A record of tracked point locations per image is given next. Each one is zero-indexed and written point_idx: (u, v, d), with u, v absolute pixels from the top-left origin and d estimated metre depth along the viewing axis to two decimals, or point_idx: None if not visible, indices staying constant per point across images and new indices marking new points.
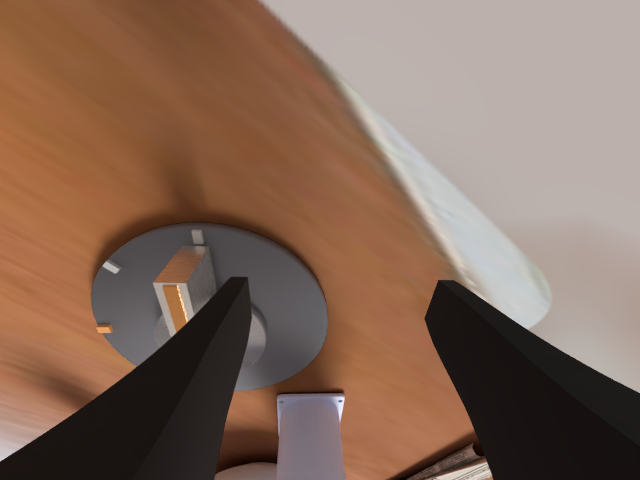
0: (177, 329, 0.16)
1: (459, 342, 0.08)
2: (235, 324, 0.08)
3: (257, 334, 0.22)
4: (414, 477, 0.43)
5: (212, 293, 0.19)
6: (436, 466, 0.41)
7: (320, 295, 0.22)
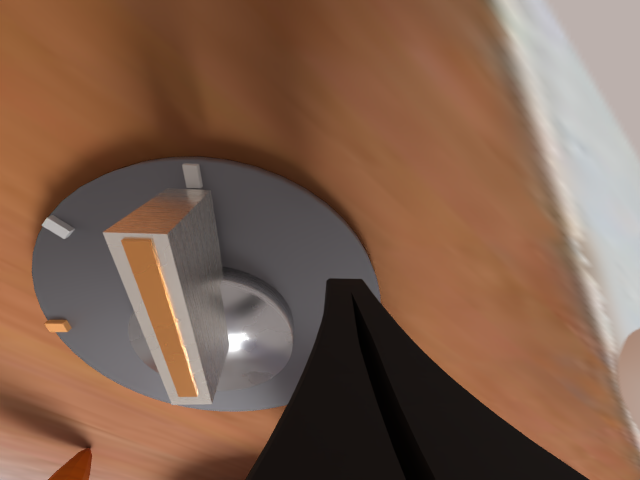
0: (155, 324, 0.09)
1: None
2: None
3: (281, 334, 0.15)
4: None
5: (216, 269, 0.12)
6: None
7: (374, 276, 0.15)
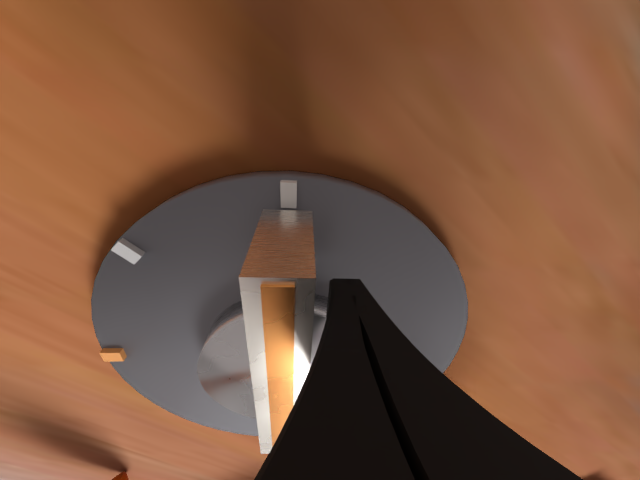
0: (270, 376, 0.08)
1: None
2: None
3: None
4: None
5: None
6: None
7: (465, 300, 0.13)
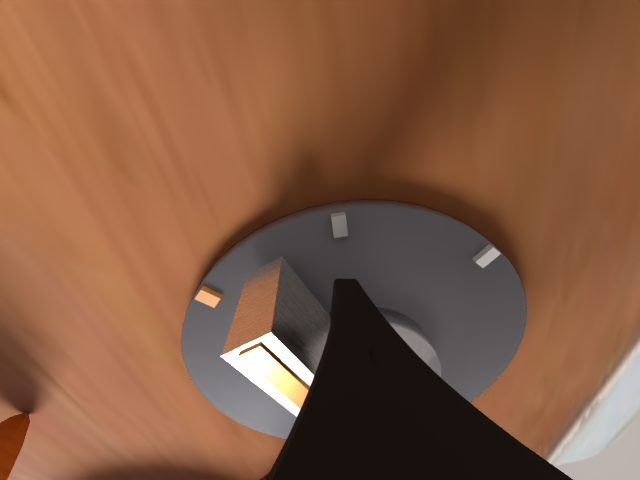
0: None
1: None
2: None
3: (420, 351, 0.13)
4: None
5: (325, 322, 0.11)
6: None
7: (496, 377, 0.17)
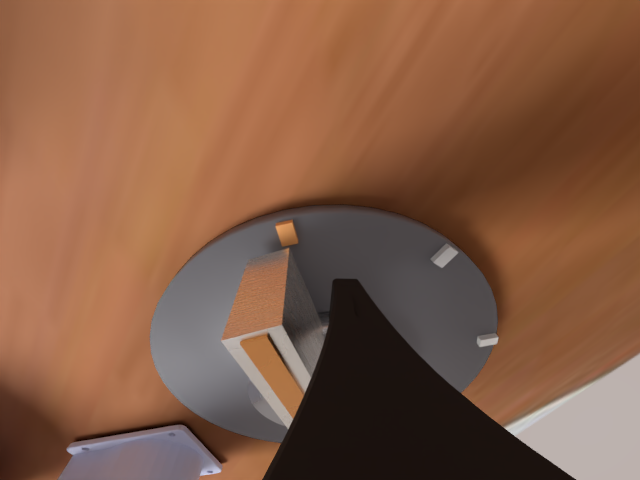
0: (288, 406, 0.09)
1: None
2: None
3: None
4: None
5: (316, 322, 0.11)
6: None
7: None
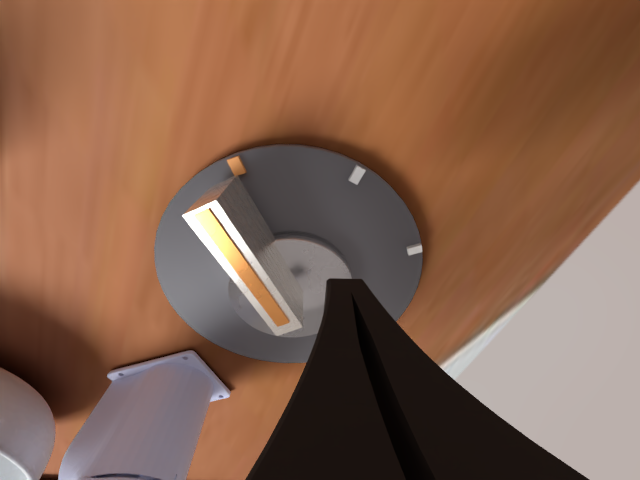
0: (237, 270, 0.13)
1: None
2: None
3: (337, 267, 0.18)
4: None
5: (265, 230, 0.16)
6: None
7: None
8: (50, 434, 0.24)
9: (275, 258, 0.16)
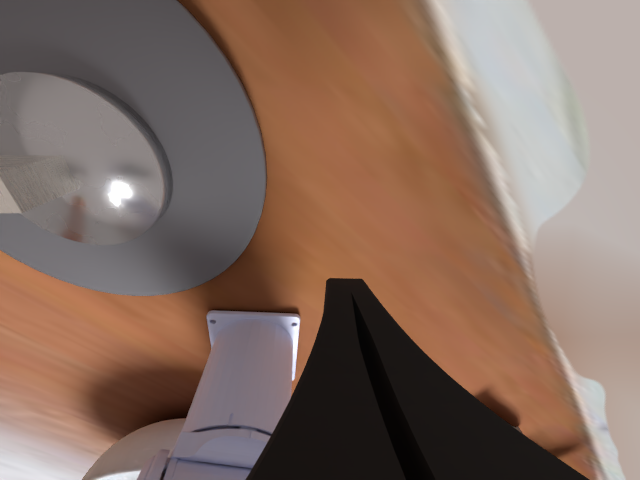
0: None
1: None
2: None
3: (9, 87, 0.12)
4: None
5: None
6: None
7: (247, 108, 0.14)
8: None
9: None
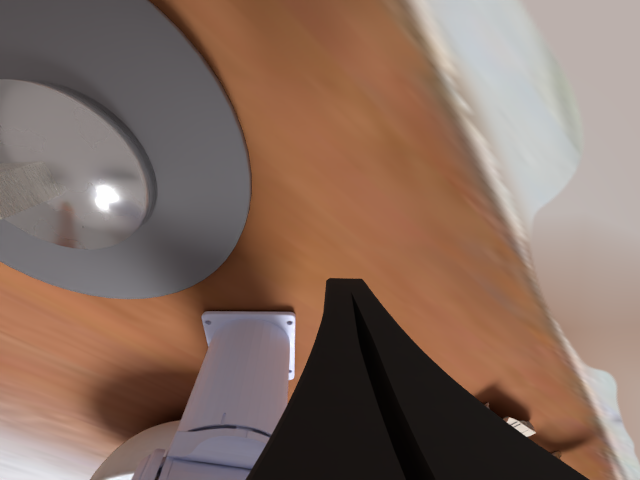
0: None
1: None
2: None
3: None
4: None
5: None
6: None
7: (225, 105, 0.14)
8: None
9: None
